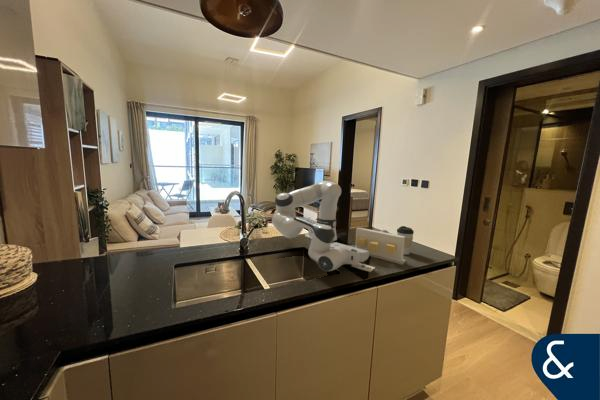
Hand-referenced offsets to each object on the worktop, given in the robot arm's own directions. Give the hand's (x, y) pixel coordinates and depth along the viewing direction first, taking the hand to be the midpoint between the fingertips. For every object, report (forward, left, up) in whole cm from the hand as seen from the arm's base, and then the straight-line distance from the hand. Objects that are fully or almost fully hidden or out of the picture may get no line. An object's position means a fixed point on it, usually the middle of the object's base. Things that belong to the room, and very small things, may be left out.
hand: (355, 247), depth 131 cm
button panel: (+8, +12, -7) cm, 16 cm away
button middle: (+8, +8, -1) cm, 11 cm away
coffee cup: (+17, +28, -7) cm, 34 cm away
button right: (+16, +10, -1) cm, 19 cm away
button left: (0, +10, -1) cm, 10 cm away
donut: (+3, +33, -7) cm, 34 cm away
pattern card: (+8, -7, -7) cm, 12 cm away
